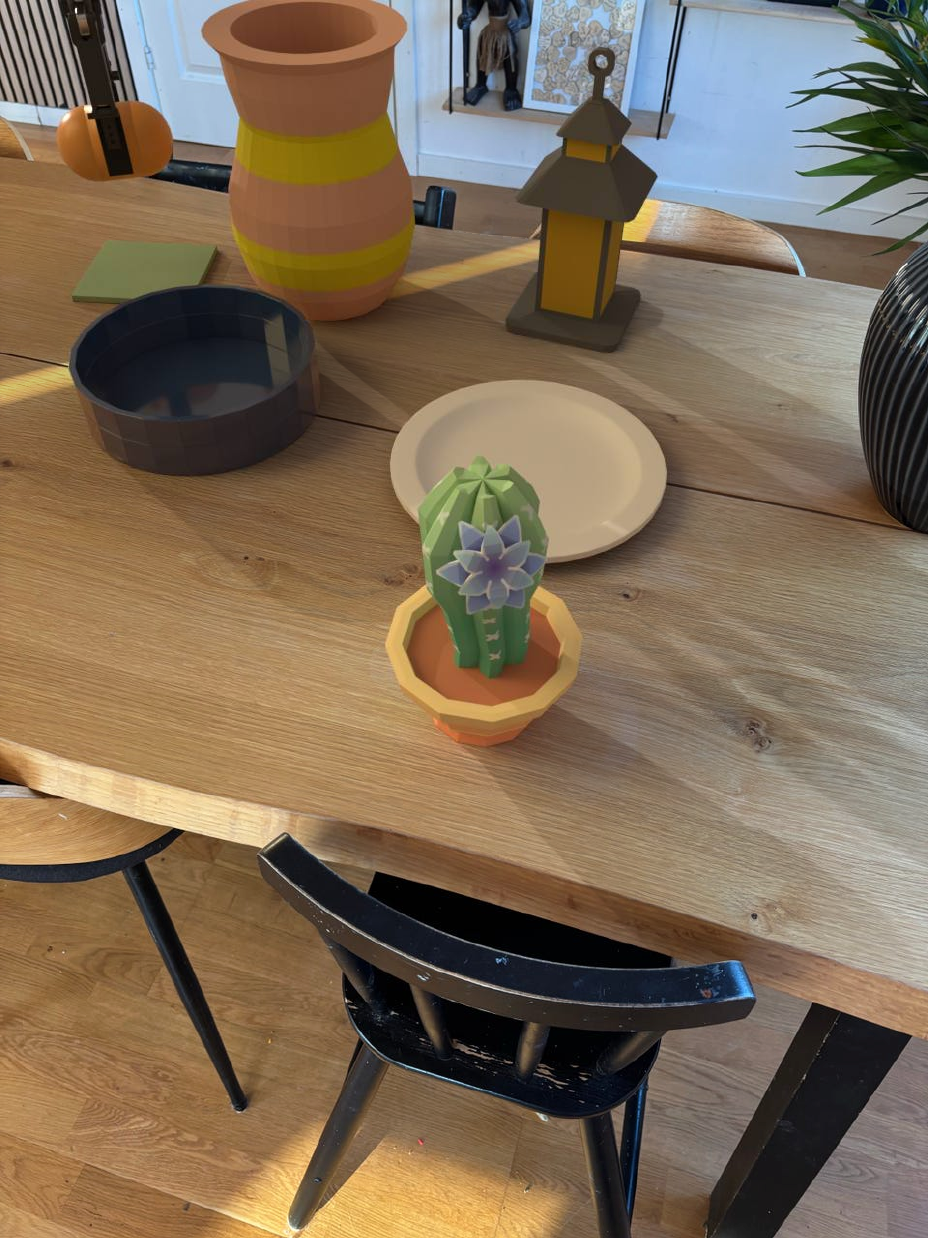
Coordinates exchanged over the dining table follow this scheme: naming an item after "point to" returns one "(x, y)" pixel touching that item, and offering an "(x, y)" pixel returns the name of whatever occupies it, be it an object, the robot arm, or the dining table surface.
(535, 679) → the potted cactus
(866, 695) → the dining table surface
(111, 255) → the mat
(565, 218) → the lantern
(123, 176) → the orange capsule
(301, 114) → the vase
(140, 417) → the bowl
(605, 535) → the plate
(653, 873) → the dining table surface
